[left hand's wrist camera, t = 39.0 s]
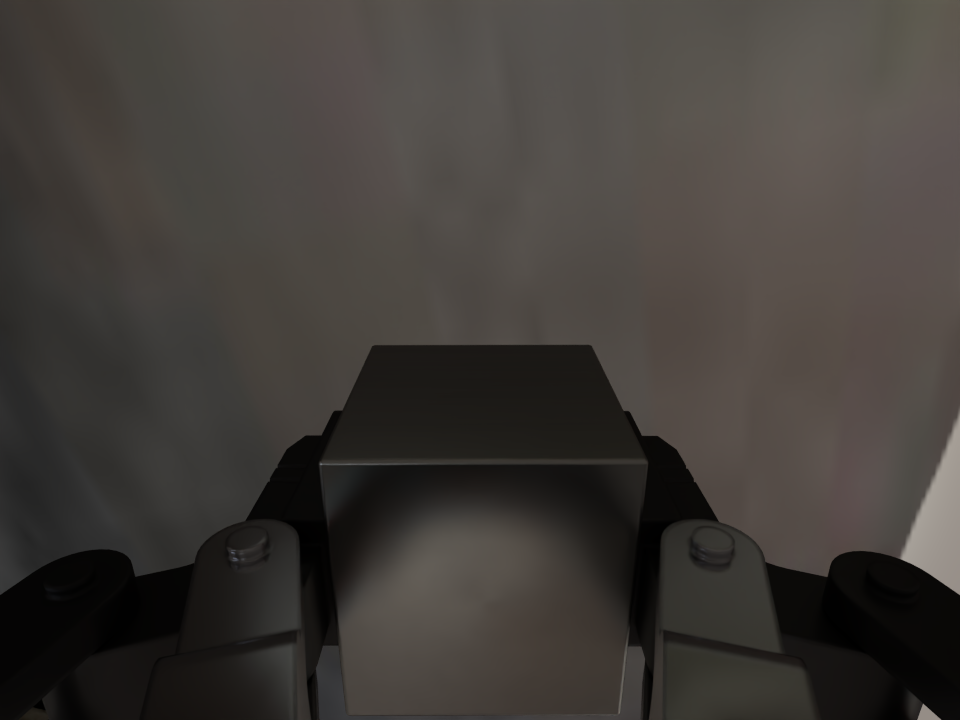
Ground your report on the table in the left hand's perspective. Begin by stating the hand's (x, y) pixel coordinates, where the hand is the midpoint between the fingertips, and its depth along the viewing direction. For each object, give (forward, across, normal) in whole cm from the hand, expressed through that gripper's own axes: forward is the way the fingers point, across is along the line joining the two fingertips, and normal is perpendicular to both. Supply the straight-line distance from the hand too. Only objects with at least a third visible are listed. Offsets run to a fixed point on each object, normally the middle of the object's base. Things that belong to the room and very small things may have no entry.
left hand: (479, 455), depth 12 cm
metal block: (0, 0, 0) cm, 0 cm away
